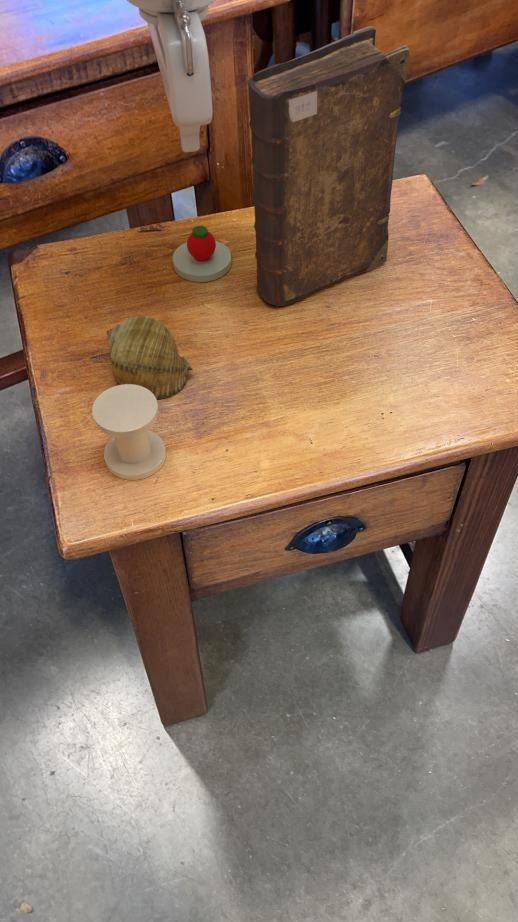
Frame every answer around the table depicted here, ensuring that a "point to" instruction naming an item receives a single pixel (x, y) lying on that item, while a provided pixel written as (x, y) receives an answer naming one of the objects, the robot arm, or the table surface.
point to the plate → (202, 264)
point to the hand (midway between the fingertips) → (183, 123)
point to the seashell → (147, 356)
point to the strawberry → (201, 244)
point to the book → (324, 164)
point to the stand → (129, 431)
